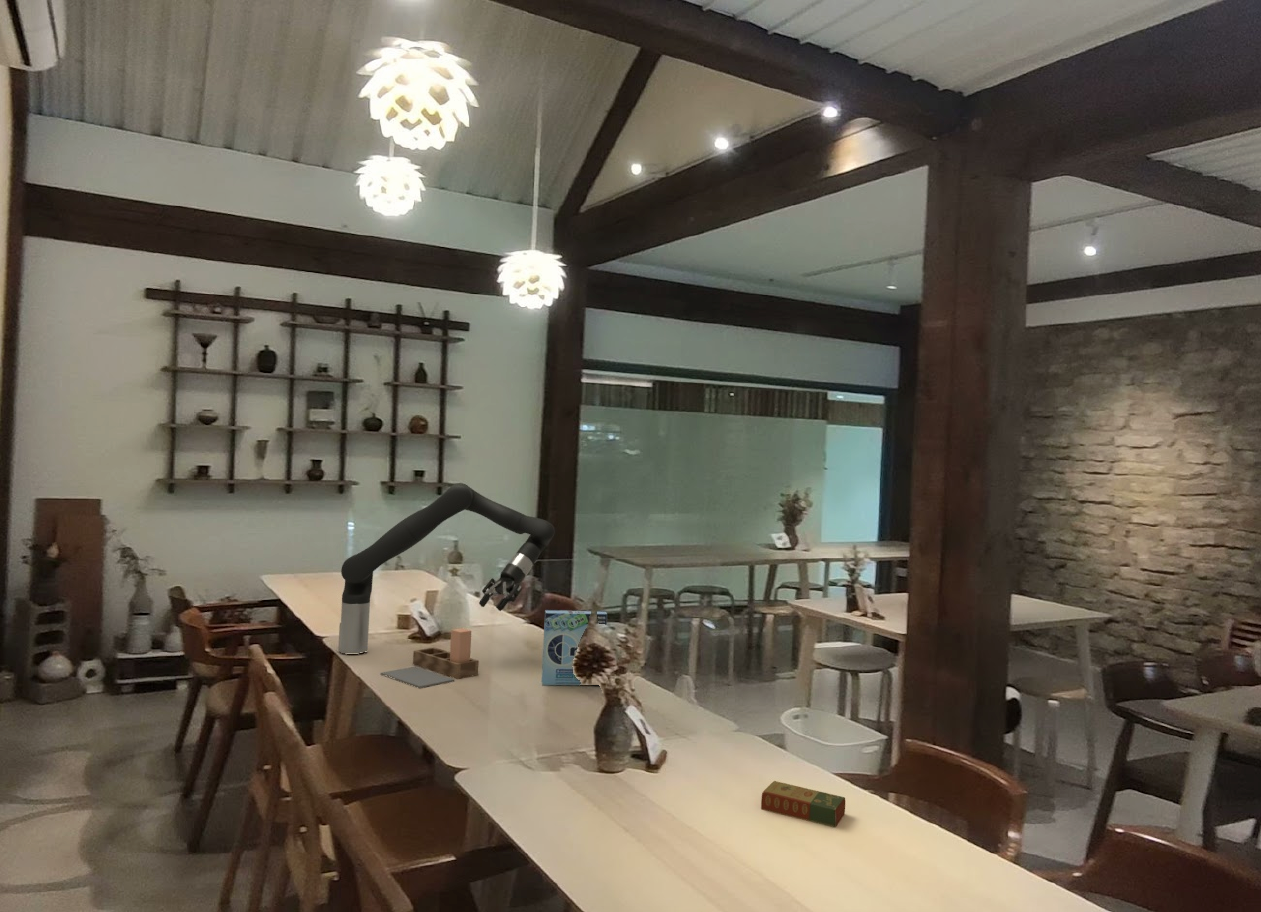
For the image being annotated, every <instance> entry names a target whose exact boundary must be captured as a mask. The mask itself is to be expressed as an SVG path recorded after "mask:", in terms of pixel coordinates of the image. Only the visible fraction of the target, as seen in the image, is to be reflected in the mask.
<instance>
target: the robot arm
mask: <svg viewBox="0 0 1261 912" xmlns="http://www.w3.org/2000/svg"><path fill="white" fill-rule="evenodd" d="M463 511H468V512H473V513H475V514H478V515H480V516H482V517H484V518H486V519H488V520H489V521H491V522H493V523H494V524H496V525H497V526H500V527H502V528H504V529H506V530H508V531H510V532H513V533H515V534H518V535H523V534H528V535H529V536H528V538H527V539H526V540H525V542H524V543H523V544H522V545H521V546H520V548H519V549H518V550H517V552H516V553H515V554H514V555H513V556H512V557H510V558H511V559H510V560H509V561H508V562H507V563H506V565H505V567H504V568H503V569H502V571H501V572H500V575H499V576H500V577H499V579H498V580H495V579H494V578H491V579H490V580H489V582H488V583H486V585H485V586H484V587H483V589H482V590H481V592H482V593H483V596H482V598H481V599H479V602H478V603H479V605H480V607H481V608H484V607H485V606H486V605H487V603H488V602H489V600H490V599H491V598H492V597H494V596H495V597H496V596H498V595H500V596H501V595H502V596H503V597H502V598H501V599H500V601H499V602H498V603H497V605H496V607H495V609H497V610H498V611H499V612H501V611H503V609H504V608H505V607H506V606H507V604H509V603H510V602H511V603H514V602H515V601H516V600H517V598H518V596H519V594H520V593H521V592H522V590H523V587H522V586H521V584H522V582H523V581H524V579H525V578H526V576H527V575H528V574H529V572H530V571H531V569H532V568H533V566H534V565H535V563H536V562H537V560H538V559H539V557H540V554H541V553H542V552H543V551H544V550H545V549H546V547H547V546H548V545H549V544H550V542H551V541H552V539H553V537H554V536H555V533H556V530H555V527H554V525H553V524H552V523H550V522H549V521H548V520H545V519H543V518H538V517H535V516H528V515H526V514H524V513H522V512H520V511H517V510H516V509H513V508H510V507H507V506H505V505H503V504H501V503H498V502H496V501H493V500H491V499H489V498H488V497H485V496H484V495H482V494H480V493H479V492H477V491H476V490H474V489H473V488H472V487H470V486H469V485H468V484H466V483H462V482H456V483H454V484H452V485H451V486H450V487H449V488H448V489H446V491H445V492H444V493H442V494H441V495H440V496H439V497H438V498H437V499H435V500H434V501H433V502H432V503H430V504H429V505H428V506H426V507H423V508H421V509H420V510H417V511H415V512H413V513H412V514H410V515H409V516H407V517H405V518H404V519H402V520H401V521H399V522H398V523H396V524H395V525H394V526H393V527H391V528H390V529H389V530H388V531H387V532H385V533H384V534H383V535H382V536H380V537H379V538H378V539H377V540H376V541H375V542H374V543H373V544H371V545H369V546H368V547H366V548H365V549H363V550H361V551H360V552H358V553H356V554H353V555H351V556H350V557H348V558H346V559H345V560H344V562H343V564H342V566H341V570H340V571H341V576H342V578H343V579H344V587H343V592H342V594H341V596H342V597H341V609H340V611H341V615H340V622H339V628H338V629H339V630H338V647H337V649H338V650H339V651H340V652H341V653H340V652H339V653H340V654H342V653H360V652H365V651H367V652H368V649H369V648H368V647H369V646H368V645H369V631H370V629H369V628H370V627H369V626H370V613H371V612H370V611H371V610H370V609H371V608H370V607H371V605H370V604H371V595H372V592H373V591H372V590H373V582H374V581H373V579H374V578H373V576H374V571H376V570H377V569H378V568H380V567H381V566H382V565H384V564H385V563H386V562H388V561H389V560H391V559H394V558H395V557H398V556H400V555H401V554H403V553H405V552H406V551H408V550H409V549H412V548H413V546H415V545H417V544H418V543H419V542H421V541H422V540H423V539H424V538H426V537H428V536H429V535H430V534H431V533H432V532H433V531H434V530H435V529H436V528H437V527H438V526H440V525H441V524H442V523H444V522H445V521H446V520H449V519H450V518H451V517H454V516H455V515H457V514H459V513H461V512H463Z"/></svg>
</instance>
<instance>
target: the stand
mask: <svg viewBox="0 0 1261 912" xmlns="http://www.w3.org/2000/svg"><path fill="white" fill-rule="evenodd" d="M412 654H413V655H412V656H413V657H412V665H413V664H414V665H413V666H416V667H419V668H422V669H425V670H428V671H431V672H434V673H437V674H440V675H443V676H446V675H447V676H446V677H450V676H451V677H450V678H453V677H454V678H453V679H456V680H458V678H459V679H463V677H464V678H469V677H472V675H474V676H479V664H480V662H479V660H478V659H474V658H473V657H472V658H471V657H470V661H468V662H462V663H456V662H453V661H450V651H447V650H445V649H441V648H437V647H428V648H422V649H416V650H413V653H412ZM468 676H469V677H468Z"/></svg>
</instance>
